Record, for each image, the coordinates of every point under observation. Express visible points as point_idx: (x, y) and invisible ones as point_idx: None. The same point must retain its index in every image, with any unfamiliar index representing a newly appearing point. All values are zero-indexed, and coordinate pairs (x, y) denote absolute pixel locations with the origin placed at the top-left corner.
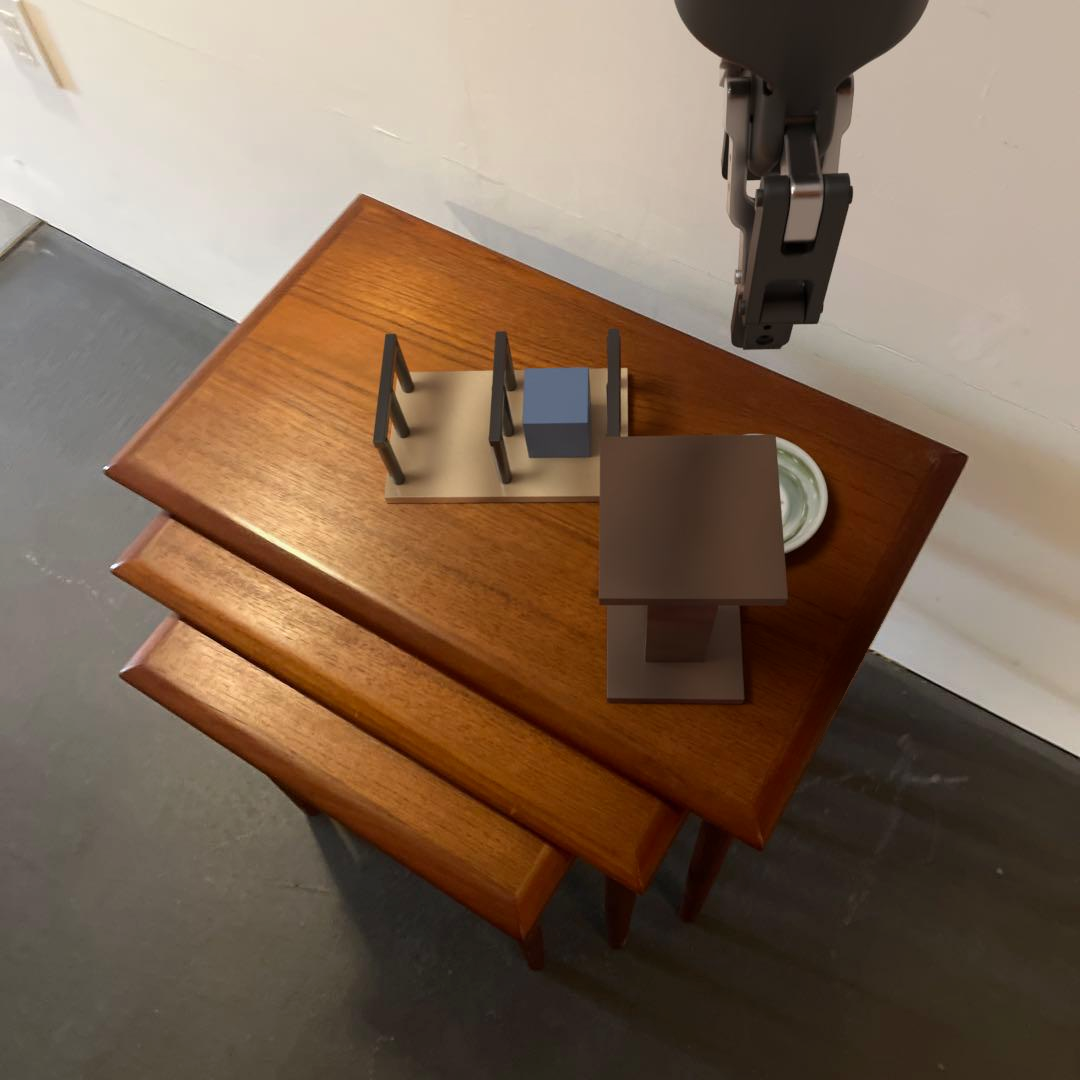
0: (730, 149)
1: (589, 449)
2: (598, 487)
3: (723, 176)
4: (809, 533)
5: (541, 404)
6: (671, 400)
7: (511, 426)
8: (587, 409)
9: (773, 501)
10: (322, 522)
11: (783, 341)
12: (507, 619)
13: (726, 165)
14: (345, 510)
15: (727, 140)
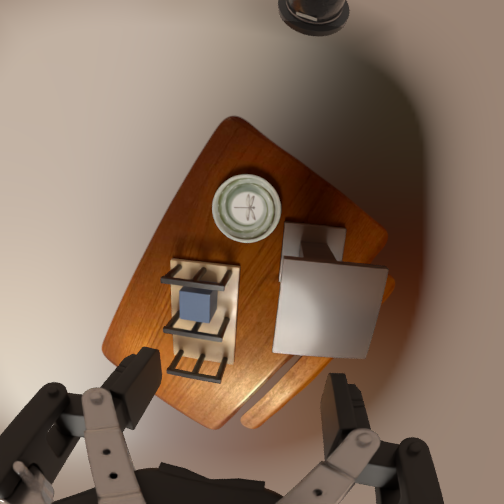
0: None
1: None
2: (234, 280)
3: (160, 382)
4: (270, 187)
5: (199, 314)
6: (187, 239)
7: None
8: (202, 294)
9: (330, 267)
10: (241, 382)
11: (361, 395)
12: None
13: (156, 389)
14: (236, 374)
15: (145, 407)
